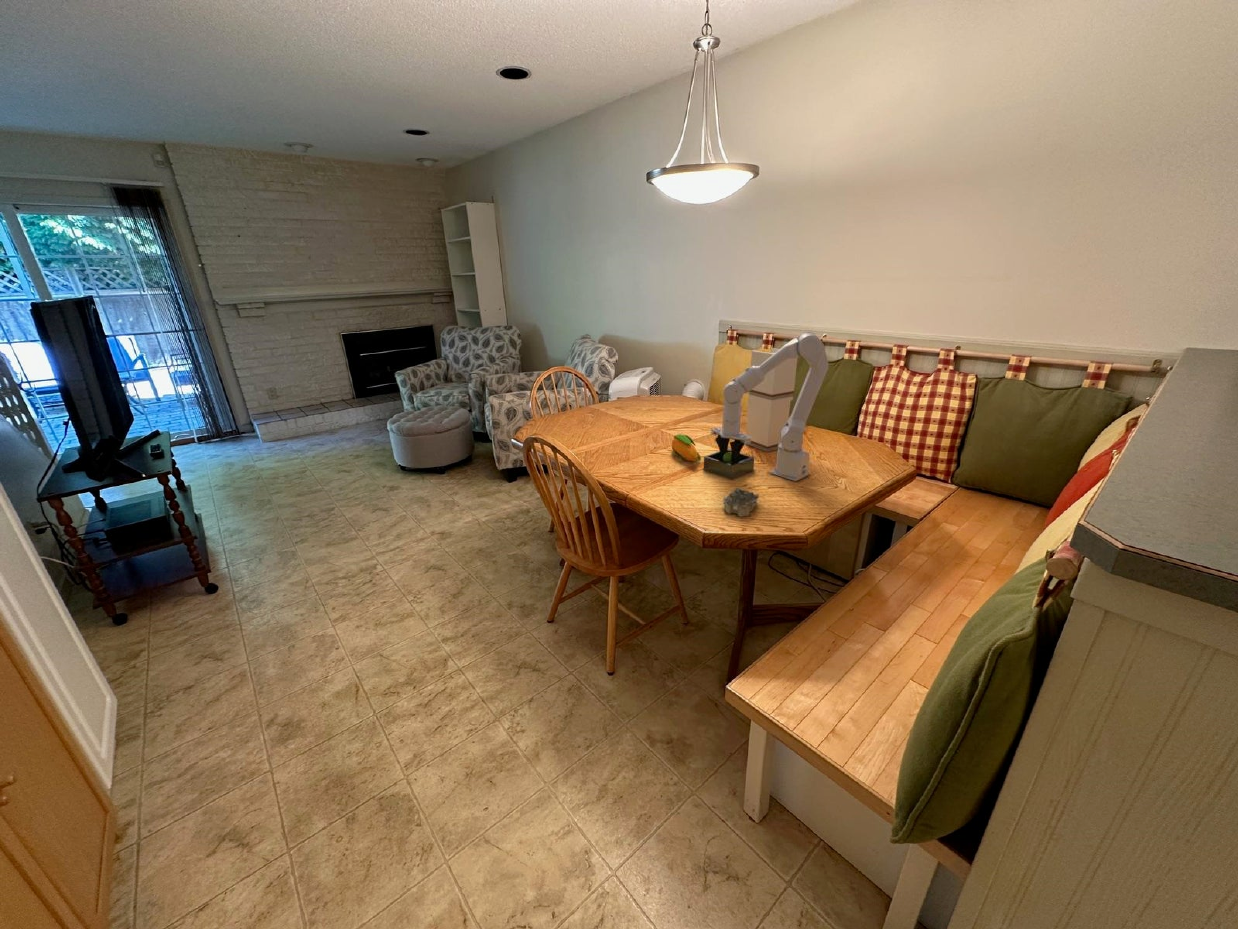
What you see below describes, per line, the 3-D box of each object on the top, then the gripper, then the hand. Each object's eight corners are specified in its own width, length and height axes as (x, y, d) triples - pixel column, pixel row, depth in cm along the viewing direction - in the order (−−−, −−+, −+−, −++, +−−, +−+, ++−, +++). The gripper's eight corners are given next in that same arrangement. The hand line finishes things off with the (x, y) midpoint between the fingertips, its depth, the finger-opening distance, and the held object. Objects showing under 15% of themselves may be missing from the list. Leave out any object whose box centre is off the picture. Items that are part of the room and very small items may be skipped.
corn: (685, 428, 177) (707, 445, 159) (686, 447, 180) (708, 466, 162) (667, 431, 176) (686, 448, 158) (668, 450, 179) (687, 470, 161)
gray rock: (745, 519, 127) (746, 505, 125) (719, 511, 131) (720, 498, 130) (760, 504, 135) (762, 490, 133) (735, 497, 139) (736, 484, 137)
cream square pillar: (787, 446, 179) (798, 351, 166) (766, 451, 174) (775, 354, 161) (765, 438, 188) (773, 348, 175) (744, 443, 183) (751, 350, 170)
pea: (737, 463, 158) (738, 452, 156) (729, 466, 156) (730, 455, 154) (727, 460, 161) (728, 449, 159) (720, 463, 159) (720, 452, 157)
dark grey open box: (753, 469, 158) (754, 457, 157) (731, 479, 152) (732, 465, 150) (725, 460, 167) (726, 448, 165) (703, 469, 160) (704, 456, 158)
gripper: (705, 417, 156) (704, 456, 161) (742, 427, 145) (739, 468, 150) (719, 413, 160) (717, 451, 165) (756, 422, 149) (752, 462, 154)
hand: (728, 459), depth 158 cm, fingers closed on pea, 4 cm apart
